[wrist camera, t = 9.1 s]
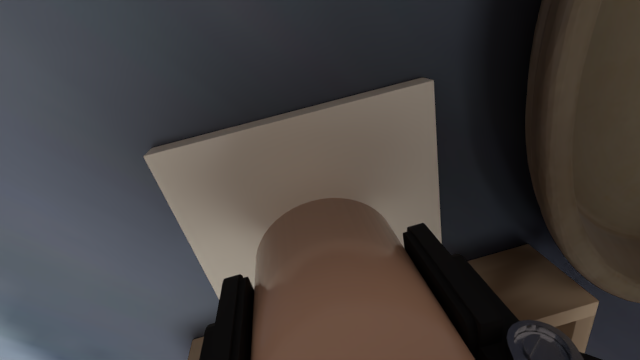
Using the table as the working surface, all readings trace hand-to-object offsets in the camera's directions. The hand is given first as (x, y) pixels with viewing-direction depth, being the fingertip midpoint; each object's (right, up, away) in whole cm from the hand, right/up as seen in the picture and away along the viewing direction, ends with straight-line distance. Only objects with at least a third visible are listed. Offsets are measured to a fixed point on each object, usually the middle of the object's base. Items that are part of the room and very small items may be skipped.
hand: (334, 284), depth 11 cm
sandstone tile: (-1, +2, +5) cm, 5 cm away
